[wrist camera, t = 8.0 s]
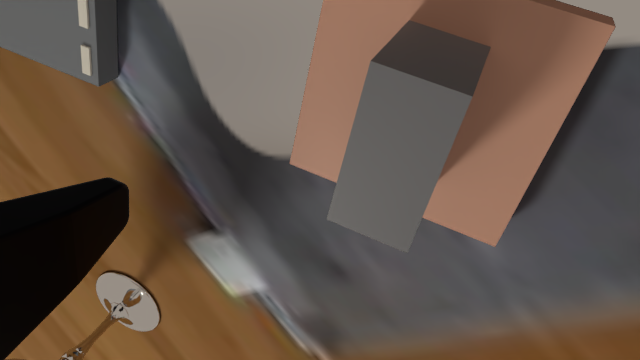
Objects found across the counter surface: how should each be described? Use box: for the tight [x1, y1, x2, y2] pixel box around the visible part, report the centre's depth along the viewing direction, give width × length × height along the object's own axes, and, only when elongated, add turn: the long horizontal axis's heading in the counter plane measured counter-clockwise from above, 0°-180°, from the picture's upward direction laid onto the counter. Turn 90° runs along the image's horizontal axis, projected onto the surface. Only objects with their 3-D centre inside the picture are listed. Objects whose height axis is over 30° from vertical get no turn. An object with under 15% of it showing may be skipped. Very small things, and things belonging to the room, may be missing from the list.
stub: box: [290, 0, 615, 253], centre depth 16 cm, size 8×8×5 cm
